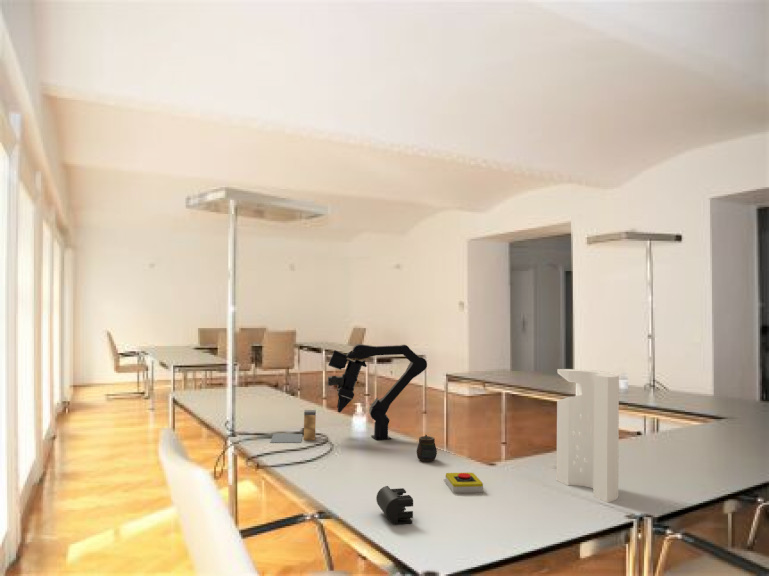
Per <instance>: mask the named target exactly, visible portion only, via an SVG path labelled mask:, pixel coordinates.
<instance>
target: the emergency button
mask: <svg viewBox="0 0 769 576" xmlns="http://www.w3.org/2000/svg"><path fill="white" fill-rule="evenodd" d="M443 482H444V483H445V484H446V486H447V487H448V489H449V490H450V493H452V494H453V495H454V496H484V495H485V494H486V493H485V492H484V483H483V482H482V481H481V480H480V478H479V477H478V476H477V475H476V474H475V473H474V472H446V473H445V478H444V479H443Z"/></svg>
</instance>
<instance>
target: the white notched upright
mask: <svg viewBox="0 0 769 576" xmlns="http://www.w3.org/2000/svg"><path fill="white" fill-rule="evenodd" d="M556 370H557V372H556V373H557V374H558V375H559V376H560V377H562V378H563V379H564V380H565V381H567V382H568V383H575V395H574V396H567V397H564V398H562V399H559V400H557V401H556V471H555V472H556V477H555V479H556V482H559V483H561V484H564V485H566V486H581V487H586V488H591V489H593V491H592V493H593V494H592V496H593V498H596V499H599V500H600V501H604V502H605V503H610V502H614V501H615V500H618V498H619V457H620V456H619V447H620V446H619V445H620V444H619V437H620V436H619V434H620V433H619V429H620V428H619V426H620V425H619V424H620V422H619V420H620V415H619V414H620V411H619V410H620V407H619V405H620V395H619V394H620V375H619V374H618V373H615V372H610V371H604V370H603V371H602V370H593V369H592V370H591V369H578V368H577V369H575V368H574V369H573V368H557V369H556Z"/></svg>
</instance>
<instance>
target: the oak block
mask: <svg viewBox="0 0 769 576" xmlns="http://www.w3.org/2000/svg"><path fill="white" fill-rule="evenodd" d="M316 411H317V410H316V409H305V410H304V412H303V440H304V441H315V440H316V421H317V420H316V418H317V415H316V414H317V412H316Z"/></svg>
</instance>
